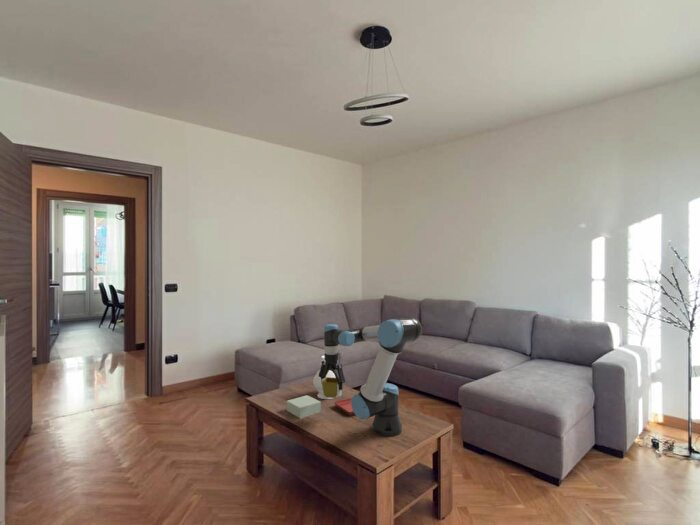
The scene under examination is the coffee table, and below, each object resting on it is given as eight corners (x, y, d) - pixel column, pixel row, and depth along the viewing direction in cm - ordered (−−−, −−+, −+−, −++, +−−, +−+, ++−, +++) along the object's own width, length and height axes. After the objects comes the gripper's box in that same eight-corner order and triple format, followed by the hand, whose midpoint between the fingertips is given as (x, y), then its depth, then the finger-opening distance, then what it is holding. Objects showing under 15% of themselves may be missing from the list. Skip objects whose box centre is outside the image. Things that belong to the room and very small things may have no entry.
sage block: (320, 412, 218) (320, 401, 218) (300, 418, 209) (300, 408, 209) (307, 405, 228) (307, 395, 228) (286, 411, 219) (286, 400, 219)
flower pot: (337, 399, 202) (337, 382, 202) (321, 398, 204) (321, 381, 204) (341, 394, 211) (341, 378, 211) (326, 393, 213) (326, 377, 213)
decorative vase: (333, 402, 232) (333, 361, 231) (307, 398, 239) (307, 358, 239) (345, 393, 248) (345, 354, 247) (321, 389, 255) (321, 352, 255)
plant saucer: (358, 401, 235) (358, 396, 235) (376, 411, 219) (376, 405, 219) (333, 407, 225) (333, 401, 225) (349, 418, 210) (349, 412, 210)
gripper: (351, 355, 202) (352, 396, 202) (322, 348, 219) (322, 386, 219) (341, 357, 197) (342, 400, 197) (311, 350, 214) (312, 389, 213)
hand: (331, 393), depth 208 cm, fingers closed on flower pot, 12 cm apart
